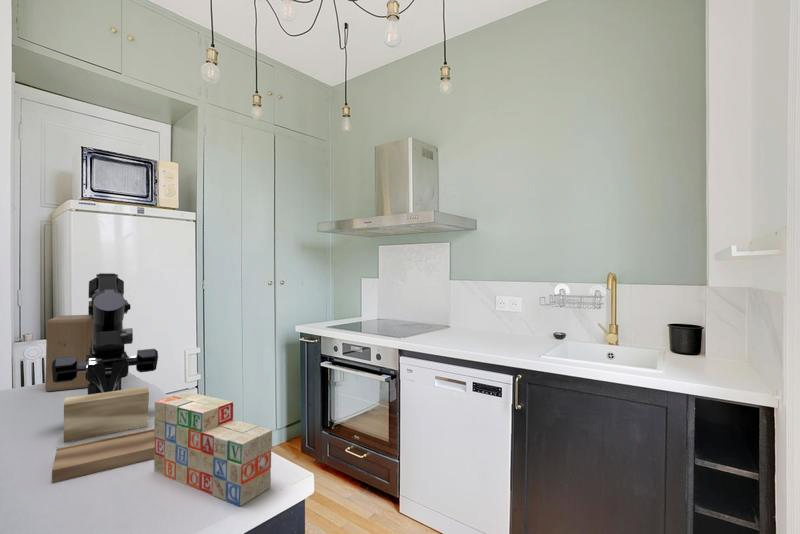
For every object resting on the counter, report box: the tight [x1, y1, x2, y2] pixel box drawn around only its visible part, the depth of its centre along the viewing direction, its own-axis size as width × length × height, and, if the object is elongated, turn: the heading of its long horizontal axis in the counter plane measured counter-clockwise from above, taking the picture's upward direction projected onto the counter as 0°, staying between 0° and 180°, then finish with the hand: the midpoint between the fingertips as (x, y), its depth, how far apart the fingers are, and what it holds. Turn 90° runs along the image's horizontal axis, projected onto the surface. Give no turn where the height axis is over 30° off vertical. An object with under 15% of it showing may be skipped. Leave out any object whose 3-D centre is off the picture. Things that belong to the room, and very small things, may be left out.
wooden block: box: [44, 314, 94, 392], centre depth 114 cm, size 10×10×20 cm
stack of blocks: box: [153, 391, 273, 507], centre depth 65 cm, size 21×6×12 cm, turn 63°
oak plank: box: [63, 386, 150, 443], centre depth 83 cm, size 3×14×8 cm, turn 127°
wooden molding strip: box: [51, 428, 155, 484], centre depth 72 cm, size 10×15×2 cm, turn 128°
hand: (108, 398), depth 84 cm, fingers closed, pressing on oak plank
